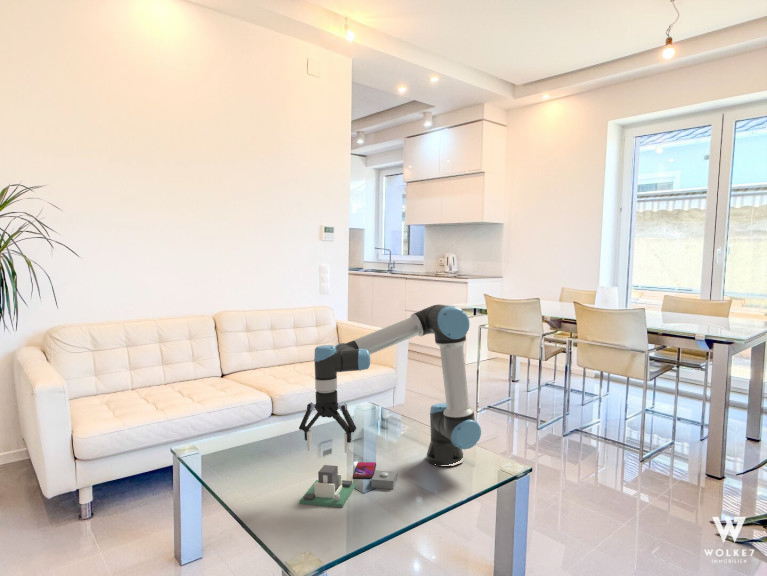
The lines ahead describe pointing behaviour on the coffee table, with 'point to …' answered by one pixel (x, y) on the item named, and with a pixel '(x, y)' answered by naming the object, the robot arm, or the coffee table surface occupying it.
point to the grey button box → (384, 479)
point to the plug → (329, 475)
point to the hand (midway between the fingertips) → (328, 450)
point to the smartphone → (364, 470)
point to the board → (328, 493)
